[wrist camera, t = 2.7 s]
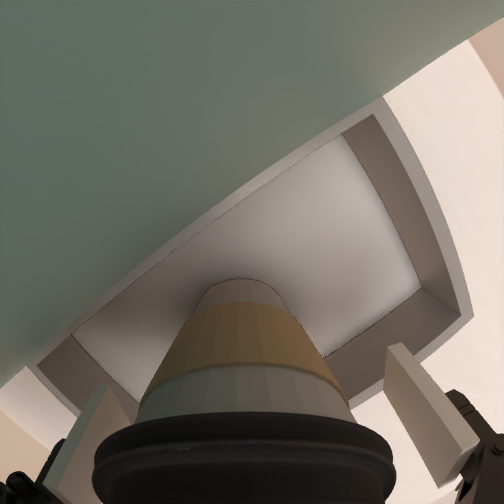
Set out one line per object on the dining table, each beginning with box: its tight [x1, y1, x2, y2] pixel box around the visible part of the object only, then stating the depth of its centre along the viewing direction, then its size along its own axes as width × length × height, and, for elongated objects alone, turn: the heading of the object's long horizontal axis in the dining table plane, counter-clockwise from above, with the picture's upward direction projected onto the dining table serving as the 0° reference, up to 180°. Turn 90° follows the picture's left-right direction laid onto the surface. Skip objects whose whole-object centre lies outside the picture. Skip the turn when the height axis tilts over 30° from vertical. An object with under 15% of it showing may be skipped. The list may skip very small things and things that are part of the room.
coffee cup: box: [92, 279, 397, 504], centre depth 12 cm, size 9×9×15 cm
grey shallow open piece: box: [27, 96, 474, 426], centre depth 17 cm, size 15×26×5 cm, turn 125°
